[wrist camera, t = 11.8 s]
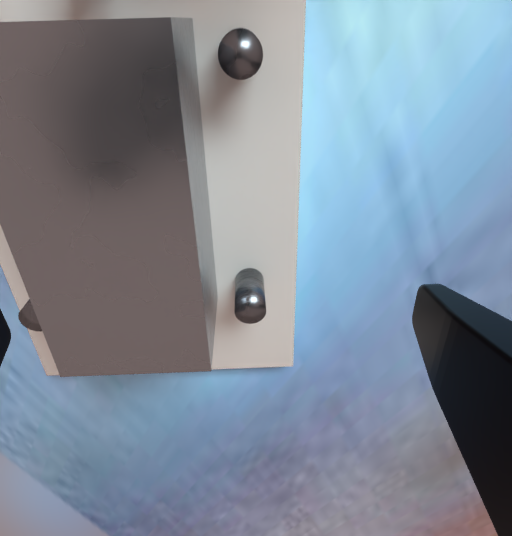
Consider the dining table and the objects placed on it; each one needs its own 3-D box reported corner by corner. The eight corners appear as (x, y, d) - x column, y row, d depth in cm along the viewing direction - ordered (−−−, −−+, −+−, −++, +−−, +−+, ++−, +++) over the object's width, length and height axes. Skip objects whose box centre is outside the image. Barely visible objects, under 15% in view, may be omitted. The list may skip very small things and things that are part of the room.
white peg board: (291, 353, 24) (298, 401, 21) (53, 362, 24) (26, 412, 21) (307, -177, 12) (328, -240, 9) (-156, -168, 12) (-285, -228, 9)
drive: (217, 297, 20) (211, 370, 16) (98, 301, 20) (60, 376, 16) (192, 17, 14) (170, 17, 10) (19, 22, 14) (-79, 24, 10)
